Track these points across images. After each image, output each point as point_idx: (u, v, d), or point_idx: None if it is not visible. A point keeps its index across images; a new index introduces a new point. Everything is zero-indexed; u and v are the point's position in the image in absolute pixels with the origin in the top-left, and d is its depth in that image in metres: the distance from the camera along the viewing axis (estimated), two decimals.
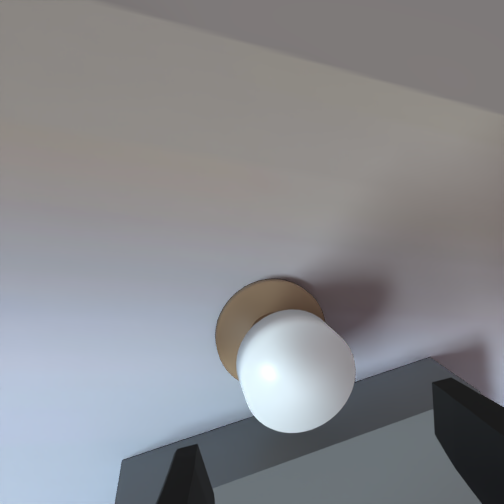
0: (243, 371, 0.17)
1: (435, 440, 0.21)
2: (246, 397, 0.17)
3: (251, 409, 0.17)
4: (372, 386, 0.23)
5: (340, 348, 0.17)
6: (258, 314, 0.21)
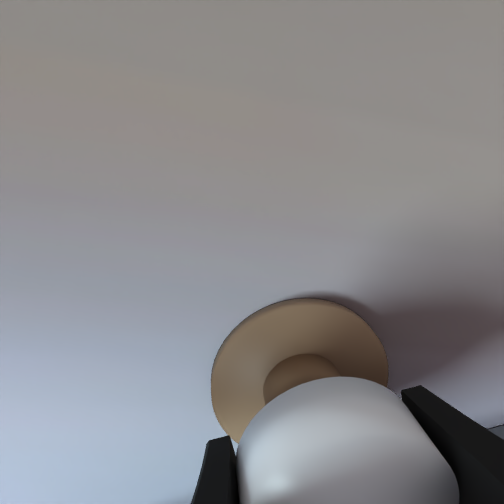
0: None
1: None
2: None
3: None
4: None
5: (435, 473, 0.09)
6: (280, 356, 0.13)
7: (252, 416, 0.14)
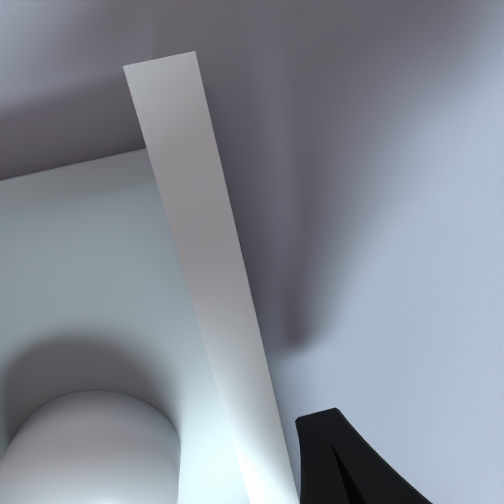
0: None
1: None
2: None
3: None
4: None
5: (22, 468, 0.10)
6: None
7: None
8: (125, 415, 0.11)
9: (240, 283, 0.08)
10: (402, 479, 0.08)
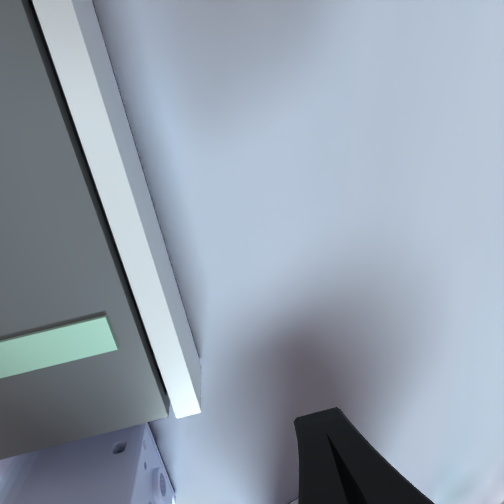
0: None
1: None
2: None
3: None
4: None
5: None
6: None
7: None
8: None
9: (73, 26, 0.13)
10: (404, 479, 0.08)
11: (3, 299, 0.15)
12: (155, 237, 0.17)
